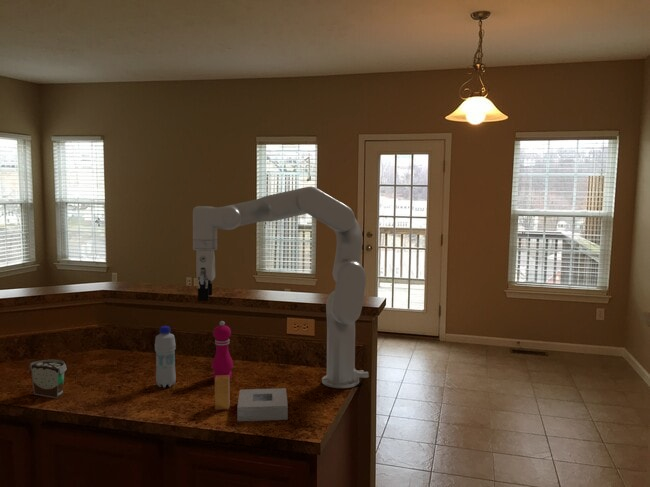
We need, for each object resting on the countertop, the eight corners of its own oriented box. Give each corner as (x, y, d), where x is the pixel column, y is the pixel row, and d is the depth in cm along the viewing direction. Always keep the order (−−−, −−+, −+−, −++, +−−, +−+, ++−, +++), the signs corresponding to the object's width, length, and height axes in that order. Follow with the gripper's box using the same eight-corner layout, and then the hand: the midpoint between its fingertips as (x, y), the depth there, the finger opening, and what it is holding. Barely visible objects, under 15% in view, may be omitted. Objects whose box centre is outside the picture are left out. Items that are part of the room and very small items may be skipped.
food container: (76, 392, 173) (75, 361, 172) (61, 399, 167) (60, 367, 166) (46, 387, 177) (45, 357, 176) (30, 393, 171) (29, 362, 170)
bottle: (157, 382, 183) (156, 323, 181) (178, 381, 183) (177, 323, 181) (153, 389, 176) (152, 328, 174) (174, 388, 176) (173, 328, 175)
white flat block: (285, 400, 167) (285, 388, 167) (287, 419, 153) (287, 405, 153) (239, 402, 165) (239, 389, 165) (237, 421, 152) (237, 407, 151)
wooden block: (229, 404, 164) (229, 375, 163) (228, 409, 160) (228, 379, 159) (216, 404, 164) (215, 375, 163) (215, 409, 160) (214, 379, 159)
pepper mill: (228, 382, 183) (228, 324, 181) (208, 380, 185) (207, 322, 183) (236, 375, 190) (235, 319, 188) (216, 373, 192) (216, 318, 190)
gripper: (213, 247, 165) (214, 303, 166) (219, 242, 182) (219, 293, 183) (188, 247, 164) (189, 303, 165) (197, 242, 181) (197, 293, 183)
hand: (205, 298), depth 174 cm, fingers open, 9 cm apart
